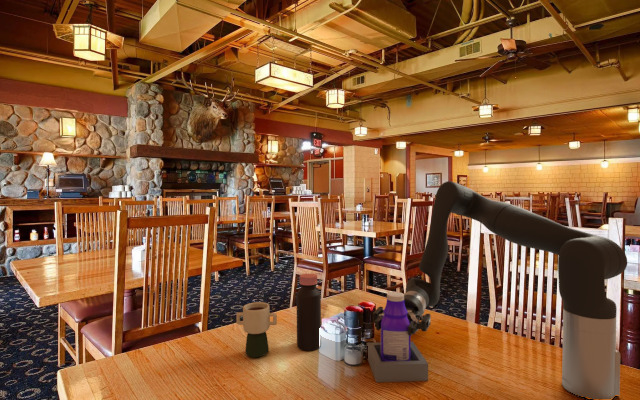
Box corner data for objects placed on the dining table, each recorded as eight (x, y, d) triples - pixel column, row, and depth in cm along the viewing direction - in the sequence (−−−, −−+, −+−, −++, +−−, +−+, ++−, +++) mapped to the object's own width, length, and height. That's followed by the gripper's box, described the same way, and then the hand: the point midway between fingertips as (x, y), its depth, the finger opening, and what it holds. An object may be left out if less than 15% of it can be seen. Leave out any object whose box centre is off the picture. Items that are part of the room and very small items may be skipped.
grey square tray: (412, 356, 96) (412, 341, 95) (428, 380, 84) (428, 363, 83) (367, 357, 95) (367, 342, 95) (376, 382, 83) (376, 365, 83)
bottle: (409, 358, 92) (408, 290, 91) (412, 370, 86) (411, 297, 85) (379, 357, 93) (379, 290, 92) (381, 369, 87) (380, 297, 86)
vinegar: (321, 351, 99) (320, 278, 98) (296, 351, 99) (295, 278, 98) (321, 340, 106) (320, 272, 105) (297, 341, 106) (296, 272, 105)
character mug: (279, 348, 101) (278, 302, 100) (274, 360, 94) (274, 310, 93) (240, 347, 102) (240, 301, 101) (233, 359, 95) (232, 310, 94)
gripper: (384, 291, 105) (364, 308, 90) (436, 297, 98) (423, 317, 84) (385, 316, 105) (365, 338, 91) (436, 325, 99) (423, 350, 84)
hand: (393, 328), depth 87 cm, fingers closed on bottle, 7 cm apart
